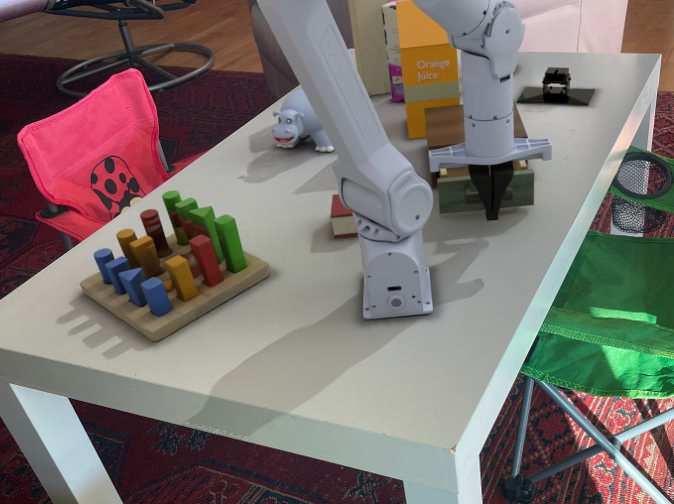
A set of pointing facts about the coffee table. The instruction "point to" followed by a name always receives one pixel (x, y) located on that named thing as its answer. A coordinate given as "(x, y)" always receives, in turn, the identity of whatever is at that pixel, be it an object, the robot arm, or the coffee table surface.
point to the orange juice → (425, 66)
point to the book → (342, 219)
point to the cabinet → (455, 129)
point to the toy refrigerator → (370, 45)
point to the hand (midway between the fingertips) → (491, 216)
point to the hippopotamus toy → (299, 123)
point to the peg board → (173, 269)
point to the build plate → (556, 90)
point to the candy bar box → (393, 49)
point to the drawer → (464, 196)
